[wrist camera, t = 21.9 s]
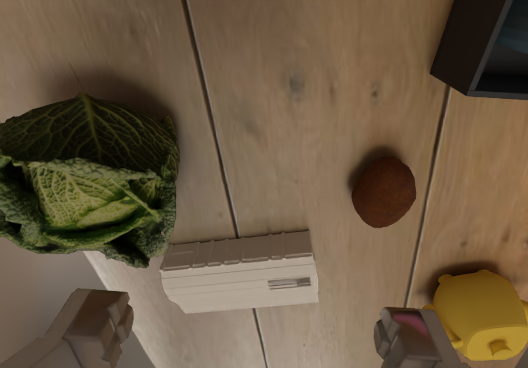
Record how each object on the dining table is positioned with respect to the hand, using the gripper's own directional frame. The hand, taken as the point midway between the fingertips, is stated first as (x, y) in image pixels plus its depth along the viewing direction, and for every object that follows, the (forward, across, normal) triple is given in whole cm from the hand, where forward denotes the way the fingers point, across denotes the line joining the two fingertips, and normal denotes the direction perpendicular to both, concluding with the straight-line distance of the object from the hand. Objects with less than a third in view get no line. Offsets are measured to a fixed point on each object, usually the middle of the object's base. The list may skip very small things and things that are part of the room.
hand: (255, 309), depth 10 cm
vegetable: (+33, +19, +12) cm, 40 cm away
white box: (+33, +2, +35) cm, 48 cm away
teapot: (+33, -40, +37) cm, 64 cm away
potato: (+33, -17, +15) cm, 40 cm away
